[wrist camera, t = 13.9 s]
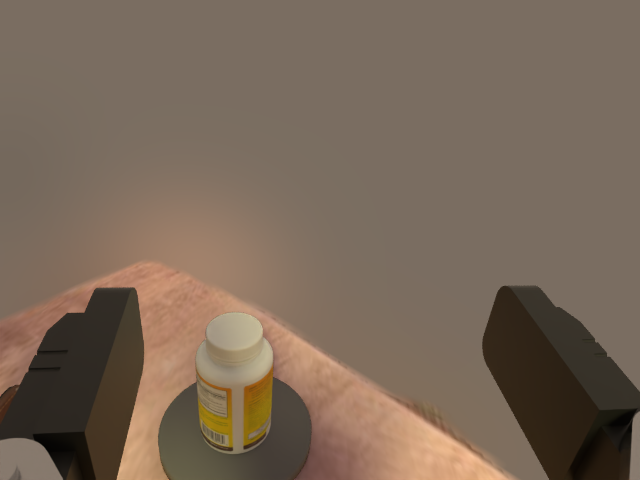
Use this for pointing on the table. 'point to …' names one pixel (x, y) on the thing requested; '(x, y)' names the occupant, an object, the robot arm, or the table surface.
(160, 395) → the table surface
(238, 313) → the supplement bottle
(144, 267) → the table surface
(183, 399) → the coaster
